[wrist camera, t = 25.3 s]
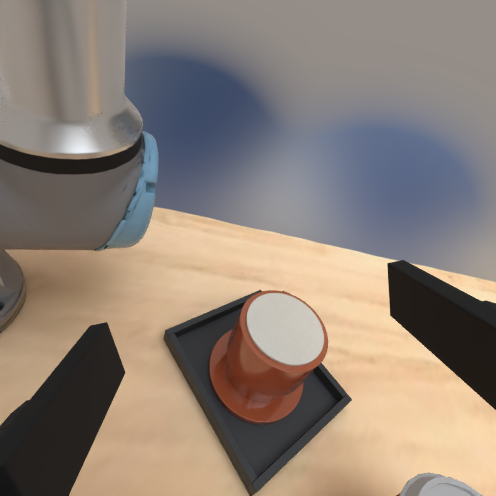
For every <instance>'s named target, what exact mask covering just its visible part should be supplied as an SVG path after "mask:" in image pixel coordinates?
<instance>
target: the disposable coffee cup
mask: <svg viewBox="0 0 496 496" xmlns="http://www.w3.org/2000/svg"><path fill="white" fill-rule="evenodd" d="M397 496H482V495H481V494H480V493H478V492H477V491H475V490H474V489H472V488H471V487H470V486H468V485H467V484H465V483H463V482H461V481H458V480H455V479H453V478H450V477H445V476H442V475H440V474H434V473H424V474H418V475H417V476H415V477H414V478H412V479H410V480H409V481H408V482H407V483H406V485H405V487H404V488H403V490H402V491H401V493H400V494H398V495H397Z"/></svg>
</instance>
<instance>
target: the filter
mask: <svg viewBox="0 0 496 496" xmlns="http://www.w3.org/2000/svg"><path fill="white" fill-rule="evenodd" d="M327 349H328V337H327V332H326V329H325V327H324V324H323V322H322V321H321V319H320V317H319V316H318V315H317V313H316V312H315V311H314V310H313V309H312V308H311V307H310V306H309V305H308V304H306V303H305V302H304V301H302V300H301V299H299V298H297V297H296V296H293V295H291V294H289V293H287V292H284V291H282V292H281V291H263V292H260V293H257V294H255V295H253V296H252V297H250V298H249V299H248V300H247V301H246V303H245V304H244V306H243V308H242V310H241V312H240V314H239V317H238V319H237V321H236V323H235V325H234V327H233V330H230V331H228V332H227V333H225V334H224V335H223V336H222V337H221V338H220V339H219V340H218V341H217V343H216V344H215V346H214V348H213V350H212V353H211V356H210V359H209V366H208V373H209V380H210V384H211V387H212V389H213V392H214V394H215V395H216V397H217V399H218V400H219V402H220V403H221V404H222V406H223V407H224V408H225V409H226V410H227V411H229V412H230V413H231V414H232V415H234V416H235V417H237V418H239V419H241V420H243V421H245V422H248V423H252V424H258V425H266V424H272V423H275V422H278V421H280V420H282V419H284V418H285V417H286V416H288V415H289V414H290V413H291V412H292V411H293V410H294V409H295V407H296V406H297V404H298V402H299V400H300V398H301V395H302V391H303V382H304V381H305V380H306V379H307V377H308V376H309V375H310V374H311V373H312V372H313V371H314V370H315V369H316V368H317V367H318V365H319V364H320V363H321V362H322V361H323V359H324V358H325V355H326V353H327Z"/></svg>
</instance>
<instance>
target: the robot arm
mask: <svg viewBox="0 0 496 496" xmlns="http://www.w3.org/2000/svg"><path fill="white" fill-rule="evenodd" d="M125 37H126V0H0V332H1V331H2V330H3V329H5V328H6V327H7V326H8V325H9V324H10V323H11V322H12V320H13V319H14V318H15V317H16V315H17V314H18V313H19V311H20V309H21V307H22V305H23V303H24V300H25V296H26V284H25V280H24V277H23V273H22V271H21V268H20V266H19V265H18V263H17V262H16V261H15V260H14V259H13V258H12V257H11V256H10V255H9V254H8V253H7V252H6V251H4V250H3V249H29V250H95V251H101V250H104V249H110V248H126V247H131V246H133V245H135V244H136V243H138V242H139V241H140V240H141V239H142V238H143V236H144V234H145V233H146V231H147V228H148V225H149V222H150V219H151V215H152V211H153V207H154V201H155V187H156V183H157V177H158V150H157V144H156V141H155V139H154V137H153V136H152V135H150V134H148V133H146V132H144V131H143V121H142V117H141V115H140V113H139V111H138V110H137V109H136V108H135V106H134V105H133V104H132V103H131V102H130V101H129V100H128V99H127V98H126V97H125V95H124V76H125ZM388 281H389V298H390V316H392V317H393V318H394V319H395V320H396V321H397V322H398V323H399V324H401V325H402V326H403V327H404V328H405V329H406V330H407V331H408V332H409V333H411V334H412V335H413V336H414V337H415V338H416V339H417V340H418V341H419V342H421V343H422V344H423V345H424V346H425V347H426V348H427V349H428V350H429V351H431V352H432V353H433V354H434V355H435V356H436V357H437V358H438V359H440V360H441V361H442V362H443V363H444V364H445V365H446V366H447V367H448V368H450V369H451V370H452V371H453V372H454V373H455V374H456V375H457V376H458V377H460V378H461V379H462V380H463V381H464V382H465V383H466V384H467V385H469V386H470V387H471V388H472V389H473V390H474V391H475V392H476V393H477V394H479V395H480V396H481V397H482V398H483V399H484V400H485V401H486V402H487V403H489V404H490V405H491V406H492V407H493V408H494V409H495V410H496V303H492V302H489V301H480V300H478V299H476V298H474V297H472V296H470V295H468V294H467V293H465V292H463V291H461V290H459V289H457V288H455V287H453V286H451V285H450V284H448V283H446V282H444V281H442V280H440V279H438V278H436V277H434V276H433V275H431V274H429V273H427V272H425V271H423V270H421V269H419V268H417V267H416V266H414V265H412V264H410V263H408V262H406V261H404V260H401V261H397V262H392V263H388ZM124 374H125V370H124V368H123V365H122V362H121V359H120V357H119V354H118V351H117V348H116V346H115V343H114V340H113V337H112V335H111V332H110V329H109V326H108V324H107V322H106V323H101V324H96V325H92V326H90V327H89V328H88V329H87V330H86V332H85V333H84V334H83V335H82V336H81V338H80V339H79V340H78V341H77V343H76V344H75V345H74V346H73V348H72V349H71V350H70V351H69V352H68V354H67V355H66V356H65V357H64V359H63V360H62V361H61V362H60V364H59V365H58V366H57V367H56V368H55V370H54V371H53V372H52V373H51V375H50V376H49V377H48V378H47V380H46V381H45V382H44V383H43V385H42V386H41V387H40V388H39V389H38V391H37V392H36V393H35V394H34V396H33V397H32V398H31V399H30V400H28V401H26V402H24V403H23V404H22V405H21V406H20V407H18V408H17V409H16V410H15V411H14V412H12V413H11V414H10V415H9V416H8V418H7V419H6V420H5V421H4V422H3V423H2V425H1V426H0V496H69V494H70V492H71V489H72V487H73V485H74V483H75V481H76V479H77V476H78V474H79V472H80V470H81V468H82V466H83V463H84V461H85V459H86V457H87V455H88V453H89V450H90V448H91V446H92V444H93V442H94V440H95V437H96V435H97V433H98V431H99V429H100V427H101V424H102V422H103V420H104V418H105V416H106V413H107V411H108V409H109V407H110V405H111V403H112V400H113V398H114V396H115V394H116V392H117V390H118V387H119V385H120V383H121V381H122V379H123V377H124Z"/></svg>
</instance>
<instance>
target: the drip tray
mask: <svg viewBox="0 0 496 496" xmlns="http://www.w3.org/2000/svg"><path fill="white" fill-rule="evenodd" d="M260 292H262V291H261V290H259V291H257V292H254V293H252V294H250V295H247V296H245V297H243V298H240V299H238V300H236V301H233V302H231V303H229V304H226V305H224V306H222V307H219V308H217V309H214V310H212V311H210V312H207V313H205V314H203V315H200V316H198V317H196V318H193V319H191V320H189V321H186V322H184V323H182V324H179V325H177V326H175V327H172V328H170V329H167V330H165V335H164V340H165V342H166V344H167V346H168V348H169V349H170V351H171V353H172V355H173V357H174V359H175V360H176V362H177V364H178V366H179V368H180V369H181V371H182V373H183V375H184V377H185V378H186V380H187V382H188V384H189V386H190V387H191V389H192V391H193V393H194V395H195V396H196V398H197V400H198V402H199V404H200V406H201V407H202V409H203V411H204V413H205V415H206V416H207V418H208V420H209V422H210V424H211V425H212V427H213V429H214V431H215V433H216V434H217V436H218V438H219V440H220V442H221V443H222V445H223V447H224V449H225V451H226V453H227V454H228V456H229V458H230V460H231V462H232V463H233V465H234V467H235V469H236V471H237V472H238V474H239V476H240V478H241V480H242V481H243V483H244V485H245V487H246V489H247V490H248V492H249V494H250V496H252V495H253V494H255V493H256V492H258V491H259V490H260V489H261V488H262V487H263V486H264V485H265V484H266V483H267V482H268V481H269V480H270V479H271V478H272V477H273V476H274V475H275V474H276V473H277V472H278V471H279V470H280V469H281V468H282V467H283V466H284V465H285V464H286V463H287V462H288V461H289V460H291V459H292V458H293V457H294V456H295V455H296V454H297V453H298V452H299V451H300V450H301V449H302V448H303V447H304V446H305V445H306V444H307V443H308V442H309V441H310V440H311V439H312V438H313V437H314V436H315V435H316V434H317V433H318V432H319V431H320V430H321V429H322V428H324V427H325V426H326V425H327V424H328V423H329V422H330V421H331V420H332V419H333V418H334V417H335V416H336V415H337V414H338V413H339V412H340V411H341V410H342V409H343V408H344V407H345V406H346V405H347V404H348V403H349V402H350V401H351V400H352V399H351V398H350V397H349V396H348V394H347V393H346V392H345V391H344V389H343V388H342V387H341V386H340V385H339V383H338V382H337V381H336V380H335V379H334V377H333V376H332V375H331V374H330V373H329V371H328V370H327V369H326V368H325V367H324V365H323V364H322V363H320V364H319V365H318V367H317V368H316V369H315V370H314V371H313V372H312V373H311V374H310V375H309V376H308V377H307V379H306V380H305V381H304V382H303V391H302V395H301V398H300V400H299V402H298V404H297V406H296V407H295V409H294V410H293V411H292V412H291V413H290V414H289V415H288V416H286V417H285V418H284V419H282V420H280V421H278V422H275V423H272V424H266V425H258V424H252V423H248V422H245V421H243V420H241V419H239V418H237V417H235V416H234V415H232V414H231V413H230V412H229V411H227V410H226V409H225V408H224V407H223V406H222V404H221V403H220V402H219V400H218V399H217V397H216V395H215V394H214V392H213V389H212V387H211V384H210V380H209V373H208V366H209V359H210V356H211V353H212V350H213V348H214V346H215V344H216V343H217V341H218V340H219V339H220V338H221V337H222V336H223V335H224V334H225V333H227V332H228V331H230V330H233V327H234V325H235V323H236V321H237V319H238V317H239V314H240V312H241V310H242V308H243V306H244V304H245V303H246V301H247V300H248V299H249V298H250V297H252V296H253V295H255V294H257V293H260Z"/></svg>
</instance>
